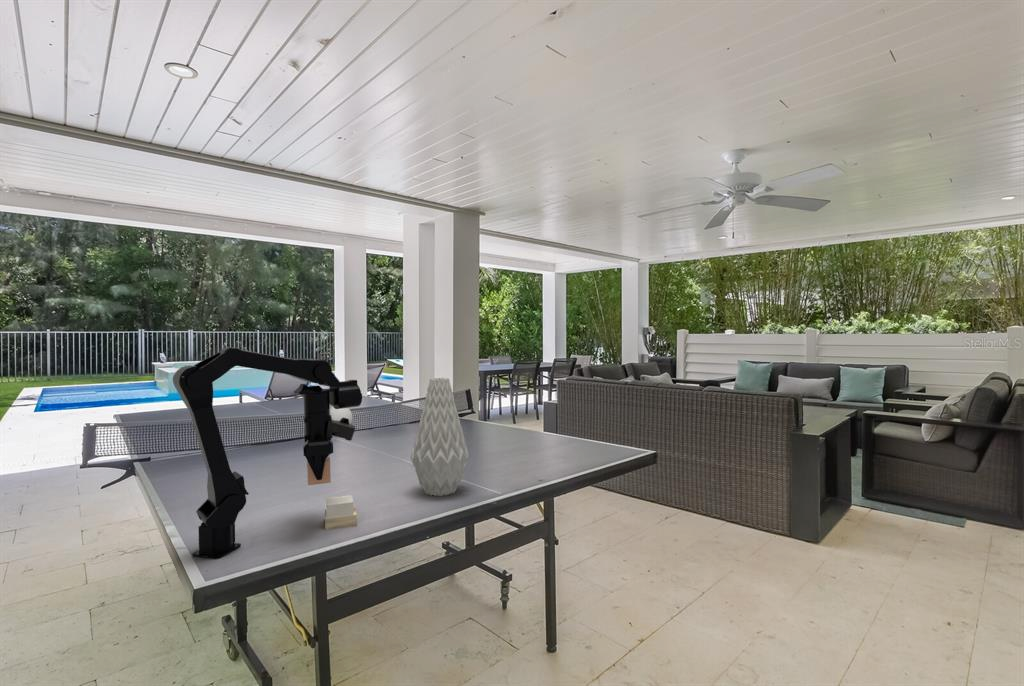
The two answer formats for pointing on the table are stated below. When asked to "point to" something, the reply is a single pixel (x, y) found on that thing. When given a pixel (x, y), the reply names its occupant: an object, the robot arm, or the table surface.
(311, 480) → the terracotta cube
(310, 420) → the robot arm
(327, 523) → the tower base block
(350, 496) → the tower top block
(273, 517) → the table surface
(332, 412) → the decorative ball
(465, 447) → the vase
